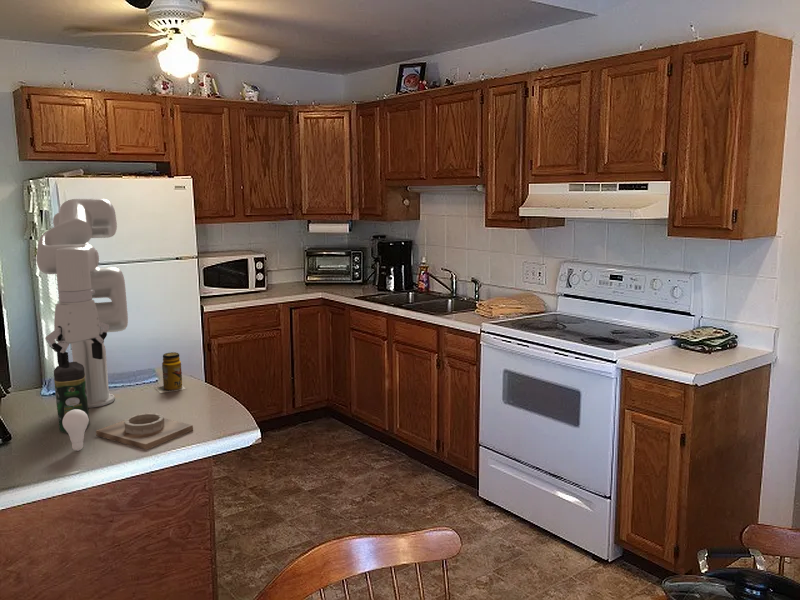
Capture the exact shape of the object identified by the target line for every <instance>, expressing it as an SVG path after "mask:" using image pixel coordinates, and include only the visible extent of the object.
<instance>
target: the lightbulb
mask: <svg viewBox="0 0 800 600" xmlns="http://www.w3.org/2000/svg"><path fill="white" fill-rule="evenodd" d="M88 423H89V424H90V417H89V418H88V415H87V414H86V413H85V412H84V411H82V410H79V409H74V410H71V411H69V412H67V413H66V414H65V416H64V417H63V421H62V424H63V427H64V429H65V430H66V431H67V432H66V433H67V434H68V437H69V439H70V442H71V445H72V446H71V447H72V450H75V451H76V452H80V451H81V450H82V449H83V448H84V439H85V433H86V432H85V431H86V430H87V429H88V428H87V425H88Z"/></svg>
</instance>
